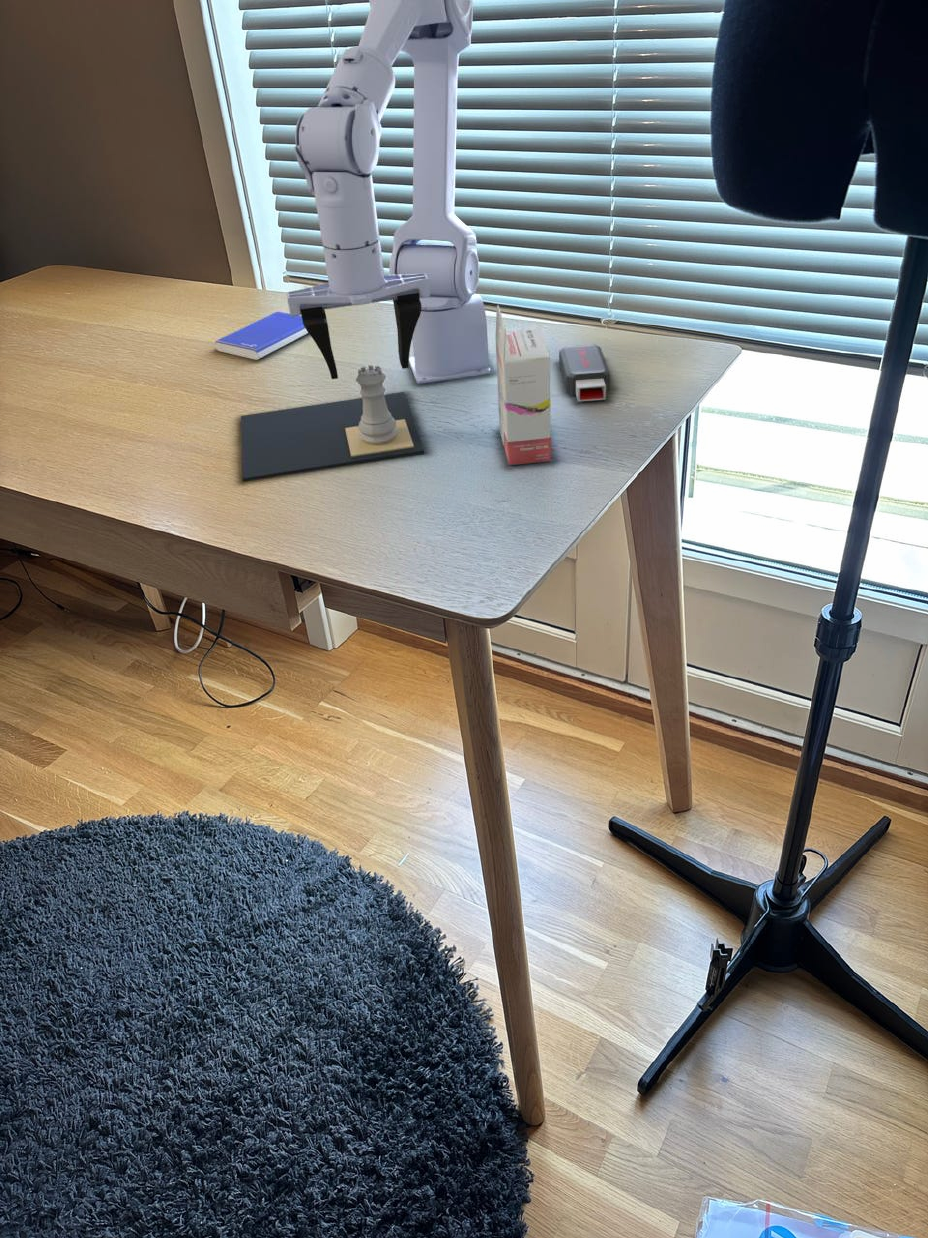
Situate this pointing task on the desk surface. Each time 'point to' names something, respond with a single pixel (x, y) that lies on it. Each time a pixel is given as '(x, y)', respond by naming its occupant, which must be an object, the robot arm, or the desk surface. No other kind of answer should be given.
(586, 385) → the usb drive
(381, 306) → the desk surface
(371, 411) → the rook chess piece
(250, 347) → the hard drive
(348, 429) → the desk pad
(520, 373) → the ink cartridge box
